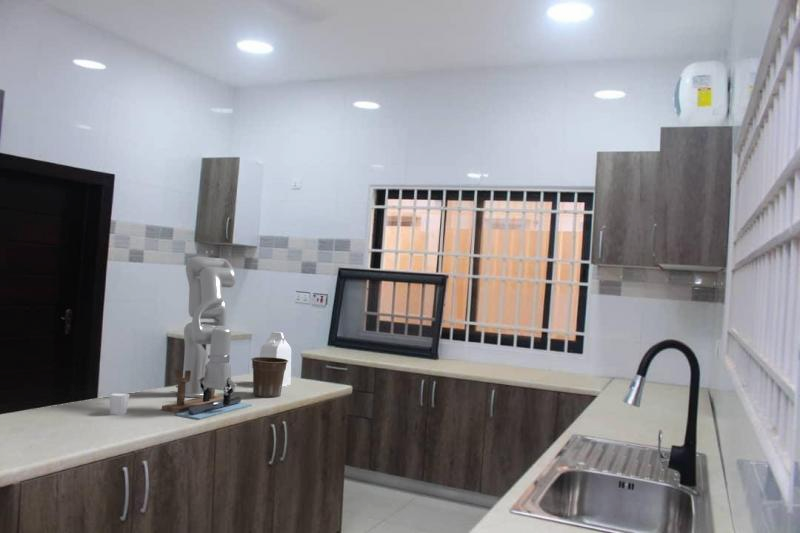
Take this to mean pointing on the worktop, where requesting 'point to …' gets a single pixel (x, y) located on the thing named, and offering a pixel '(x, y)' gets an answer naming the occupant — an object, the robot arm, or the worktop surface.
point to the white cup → (118, 403)
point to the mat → (214, 411)
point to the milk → (278, 353)
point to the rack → (181, 404)
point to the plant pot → (268, 376)
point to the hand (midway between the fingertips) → (216, 403)
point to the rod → (212, 405)
